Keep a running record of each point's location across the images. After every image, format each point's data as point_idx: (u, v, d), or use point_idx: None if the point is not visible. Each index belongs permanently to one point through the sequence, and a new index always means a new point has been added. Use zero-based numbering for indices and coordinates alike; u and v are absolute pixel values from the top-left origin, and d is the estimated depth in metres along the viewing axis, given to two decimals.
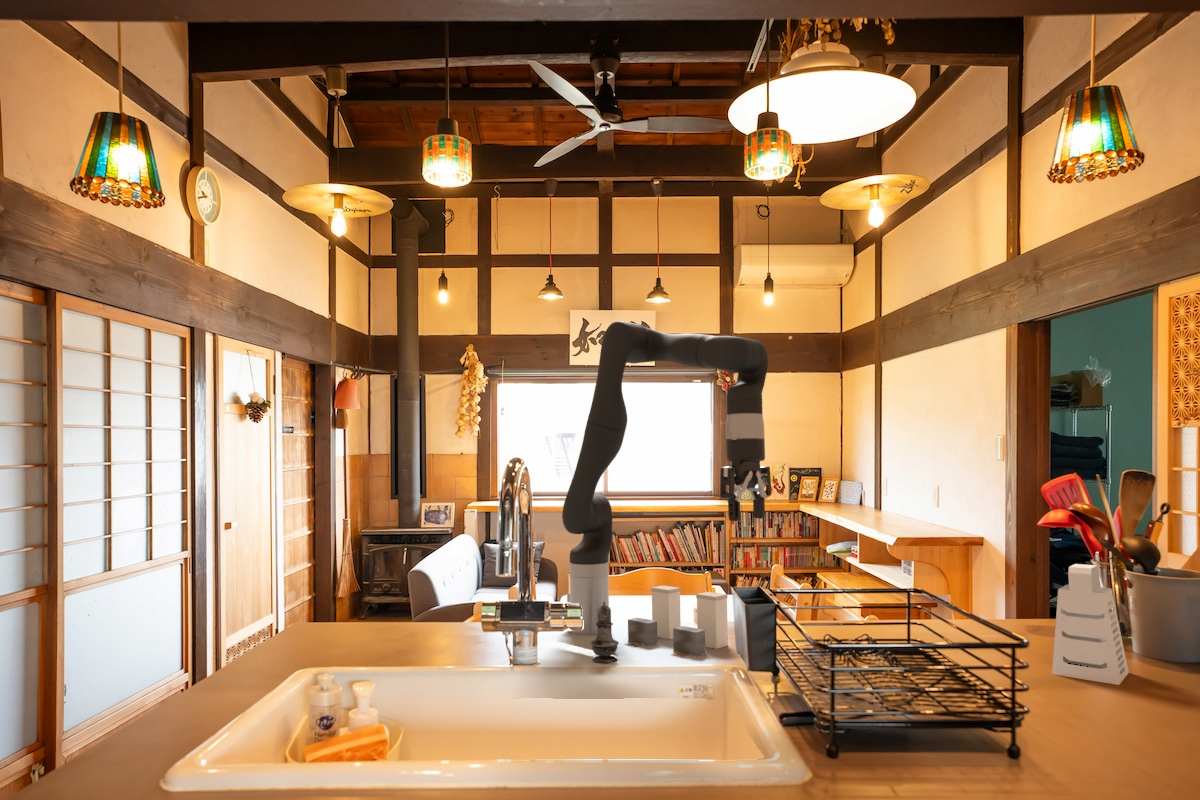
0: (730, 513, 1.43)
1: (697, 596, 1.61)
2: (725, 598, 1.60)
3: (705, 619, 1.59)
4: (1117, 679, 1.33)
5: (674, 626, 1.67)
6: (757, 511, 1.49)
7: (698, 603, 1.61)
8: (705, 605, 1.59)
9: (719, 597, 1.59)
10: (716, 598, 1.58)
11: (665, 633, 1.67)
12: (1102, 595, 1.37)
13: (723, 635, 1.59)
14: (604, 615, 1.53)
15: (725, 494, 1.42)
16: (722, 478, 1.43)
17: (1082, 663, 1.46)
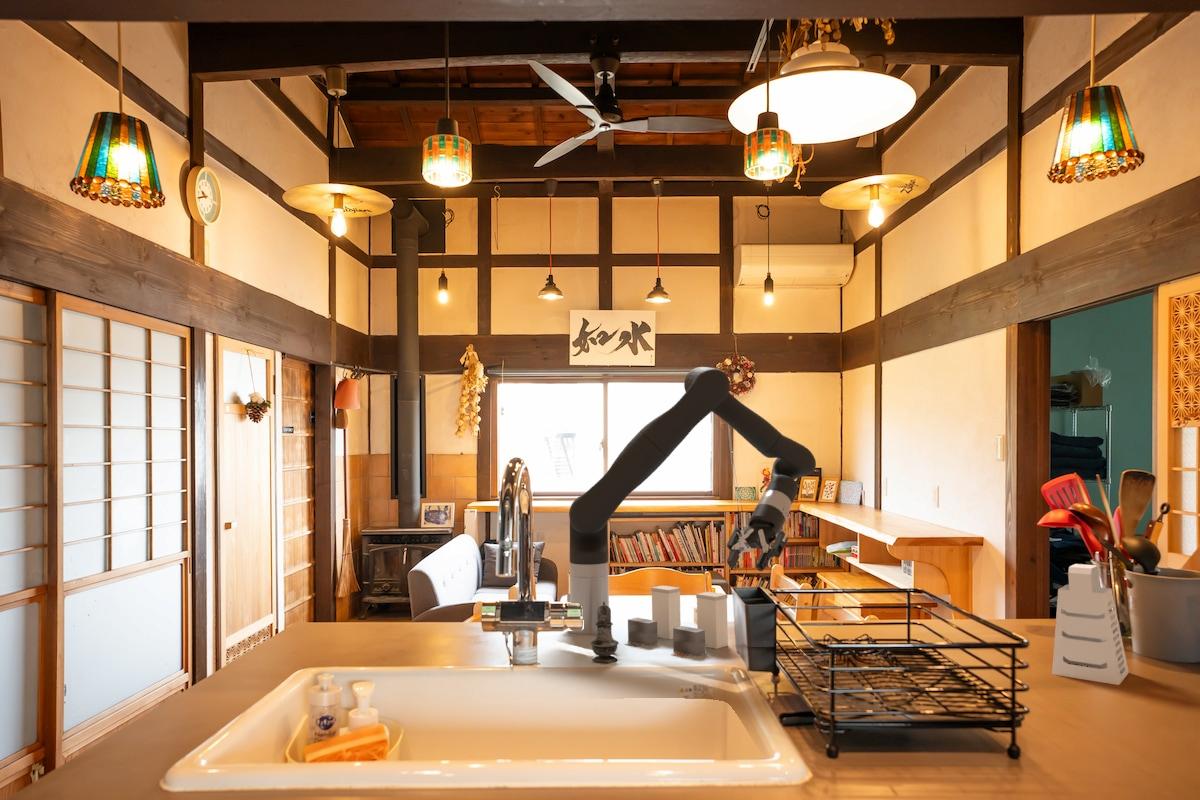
0: (764, 563, 1.67)
1: (697, 596, 1.61)
2: (725, 598, 1.60)
3: (705, 619, 1.59)
4: (1117, 679, 1.33)
5: (674, 626, 1.67)
6: (733, 560, 1.73)
7: (698, 603, 1.61)
8: (705, 605, 1.59)
9: (719, 597, 1.59)
10: (716, 598, 1.58)
11: (665, 633, 1.67)
12: (1102, 595, 1.37)
13: (723, 635, 1.59)
14: (604, 615, 1.53)
15: (777, 551, 1.68)
16: (781, 539, 1.69)
17: (1082, 663, 1.46)
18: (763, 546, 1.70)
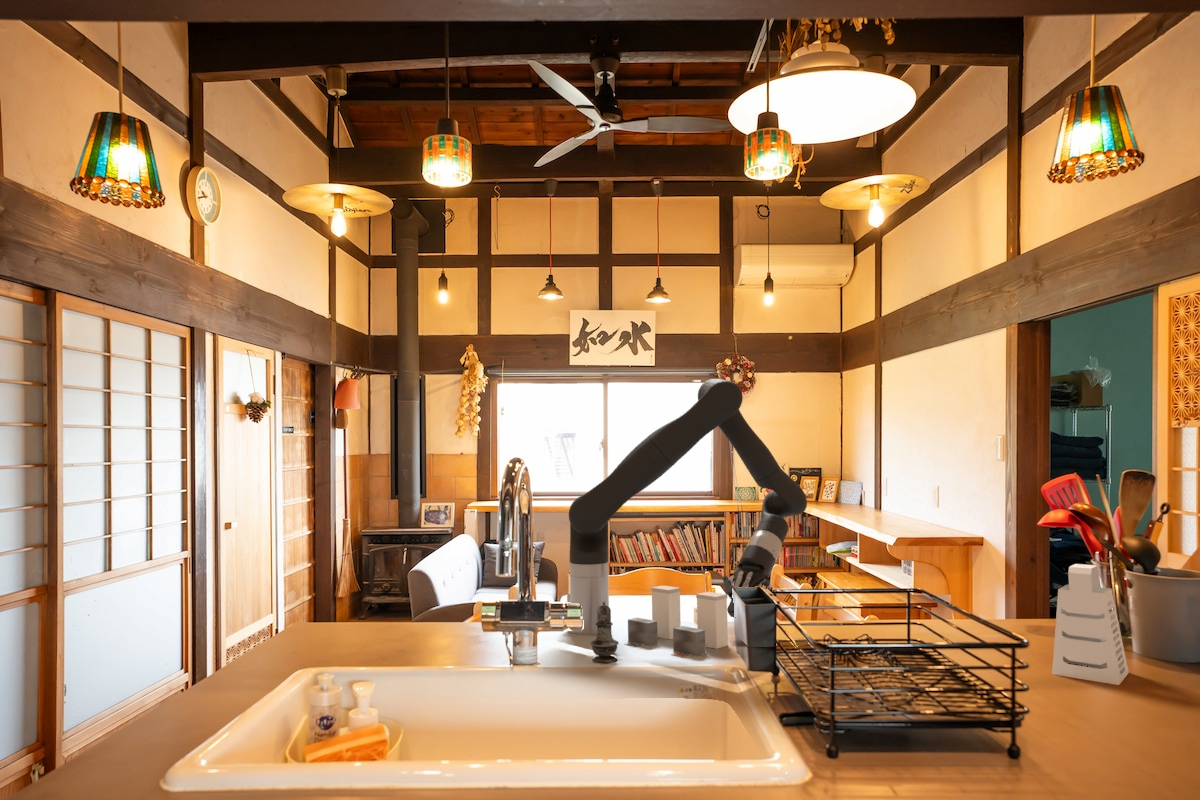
0: None
1: (697, 596, 1.61)
2: (725, 598, 1.60)
3: (705, 619, 1.59)
4: (1117, 679, 1.33)
5: (674, 626, 1.67)
6: None
7: (698, 603, 1.61)
8: (705, 605, 1.59)
9: (719, 597, 1.59)
10: (716, 598, 1.58)
11: (665, 633, 1.67)
12: (1102, 595, 1.37)
13: (723, 635, 1.59)
14: (604, 615, 1.53)
15: None
16: None
17: (1082, 663, 1.46)
18: None
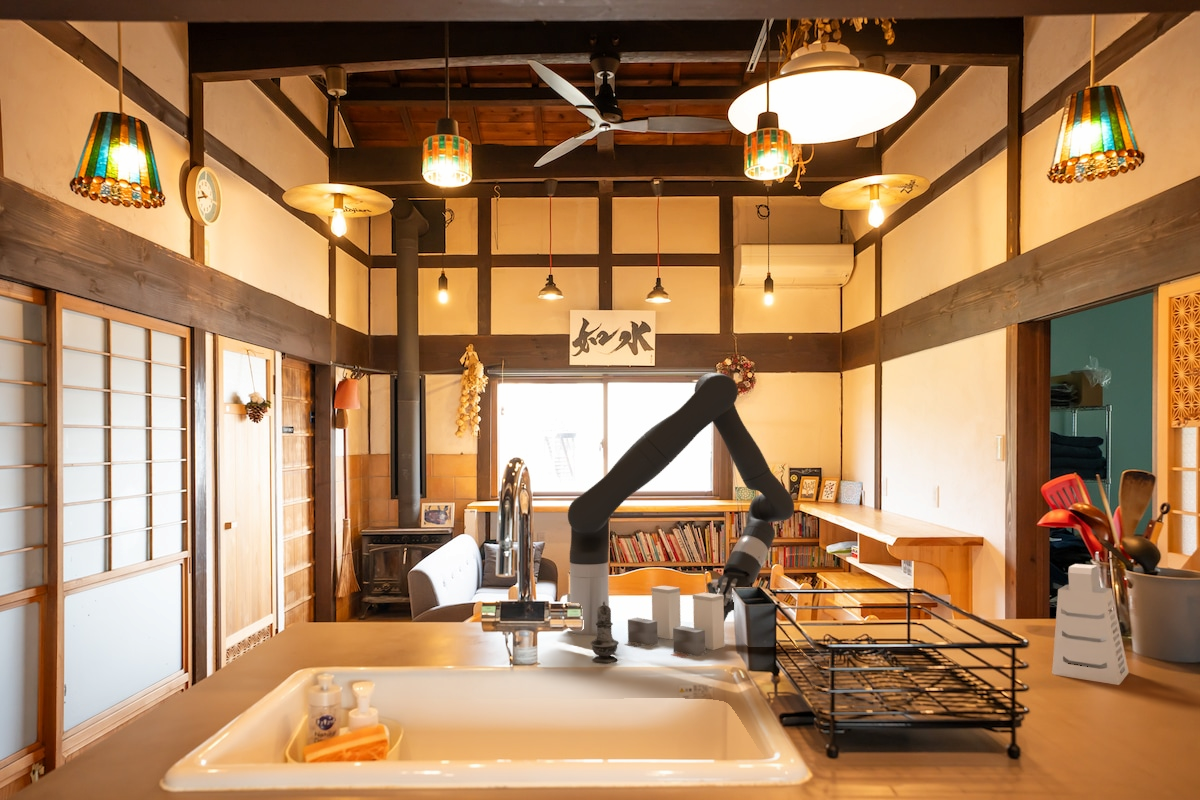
0: None
1: (693, 597, 1.60)
2: (722, 599, 1.59)
3: (701, 620, 1.58)
4: (1117, 679, 1.33)
5: (674, 626, 1.67)
6: None
7: (694, 604, 1.60)
8: (702, 606, 1.59)
9: (716, 598, 1.58)
10: (713, 599, 1.57)
11: (665, 633, 1.67)
12: (1102, 595, 1.37)
13: (719, 636, 1.58)
14: (604, 615, 1.53)
15: None
16: None
17: (1082, 663, 1.46)
18: (726, 598, 1.64)
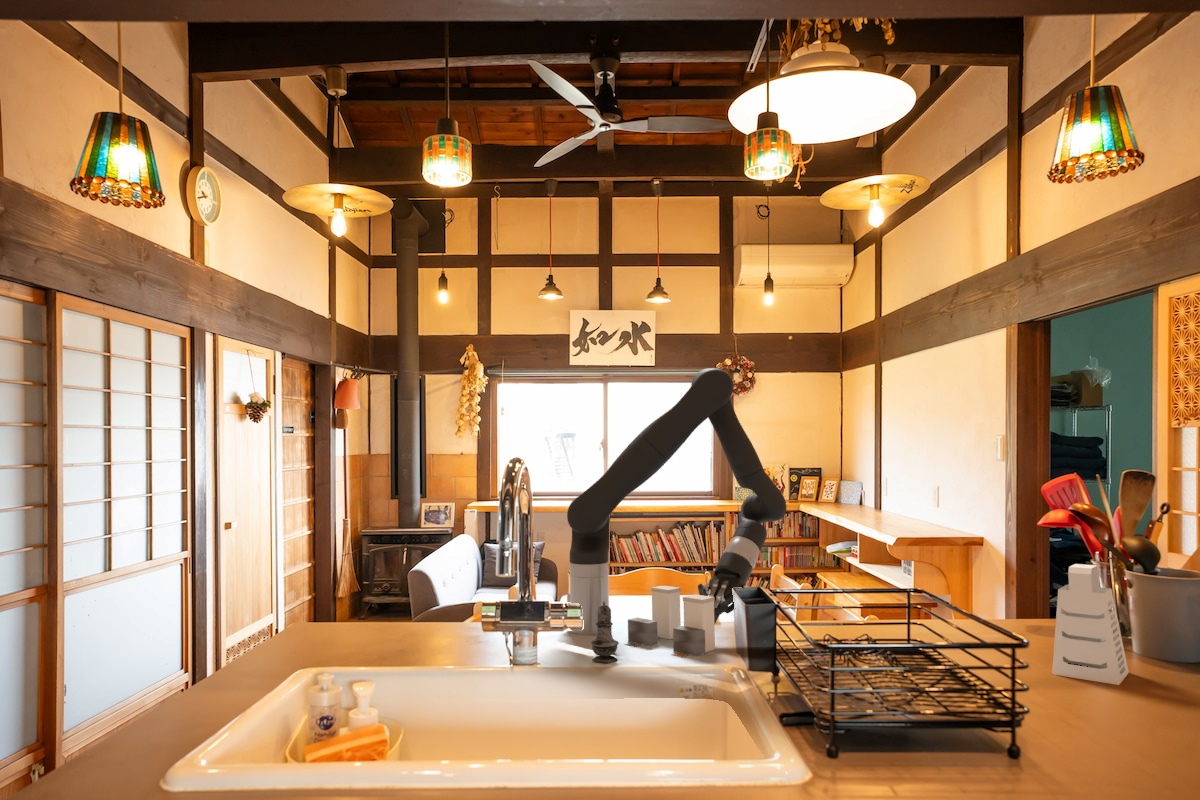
0: None
1: (684, 599, 1.58)
2: (712, 601, 1.57)
3: (691, 623, 1.56)
4: (1117, 679, 1.33)
5: (674, 626, 1.67)
6: None
7: (685, 606, 1.58)
8: (692, 608, 1.56)
9: (706, 600, 1.55)
10: (703, 601, 1.55)
11: (665, 633, 1.67)
12: (1102, 595, 1.37)
13: (710, 638, 1.55)
14: (604, 615, 1.53)
15: (727, 607, 1.60)
16: None
17: (1082, 663, 1.46)
18: (717, 600, 1.61)
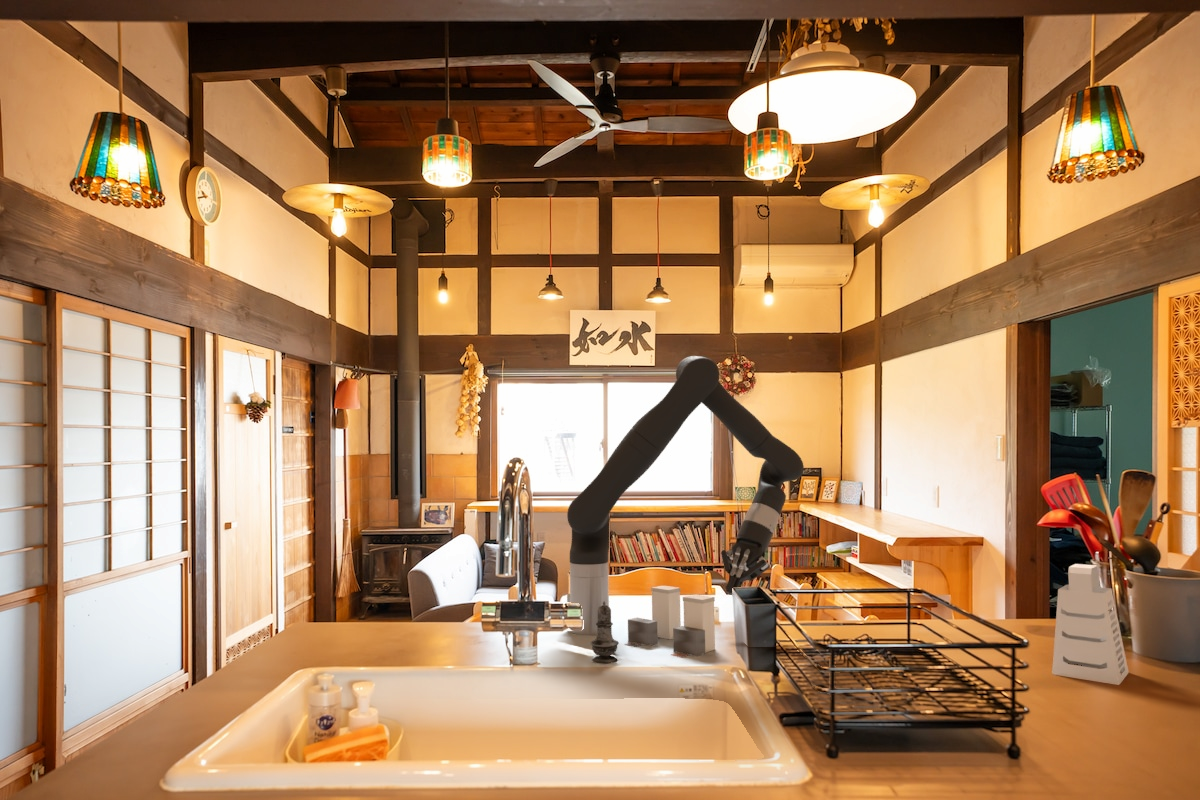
0: None
1: (684, 599, 1.58)
2: (712, 601, 1.57)
3: (691, 623, 1.56)
4: (1117, 679, 1.33)
5: (674, 626, 1.67)
6: None
7: (685, 606, 1.58)
8: (692, 608, 1.56)
9: (706, 600, 1.55)
10: (703, 601, 1.55)
11: (665, 633, 1.67)
12: (1102, 595, 1.37)
13: (710, 638, 1.55)
14: (604, 615, 1.53)
15: (750, 576, 1.69)
16: (758, 569, 1.68)
17: (1082, 663, 1.46)
18: (740, 569, 1.70)
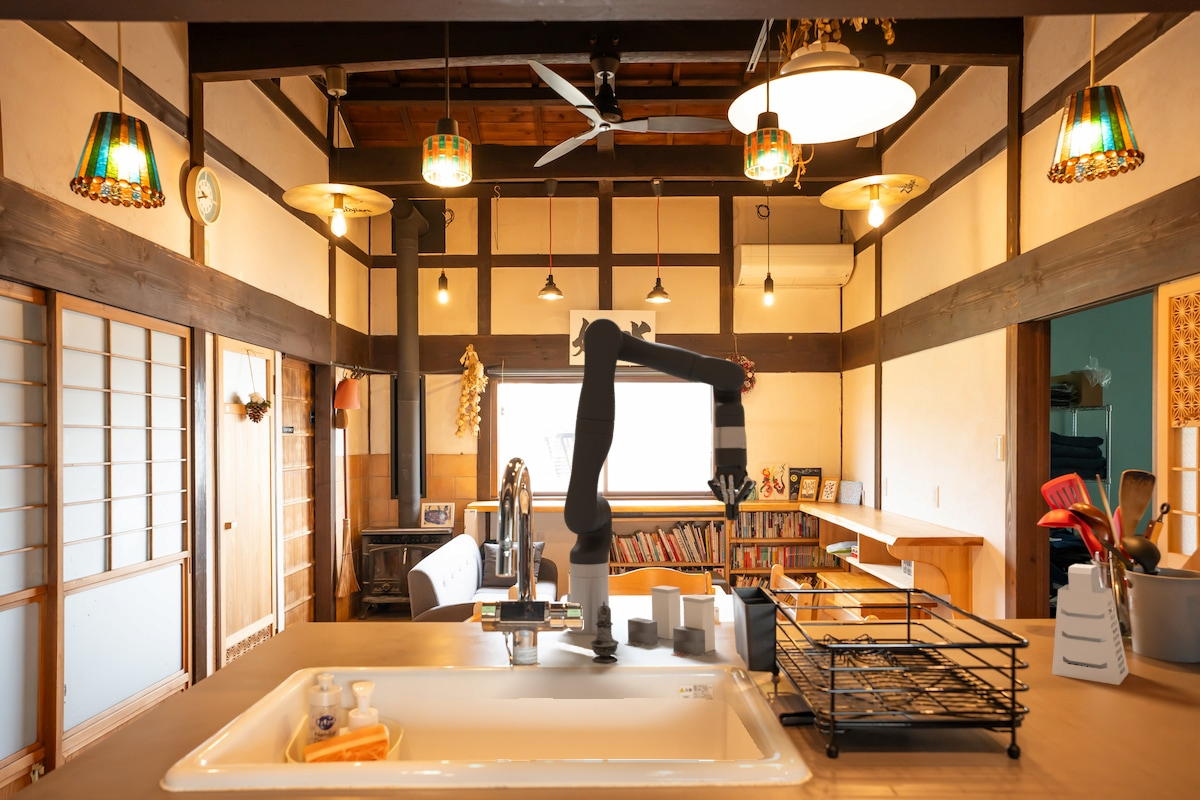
0: (736, 514, 1.74)
1: (684, 599, 1.58)
2: (712, 601, 1.57)
3: (691, 623, 1.56)
4: (1117, 679, 1.33)
5: (674, 626, 1.67)
6: None
7: (685, 606, 1.58)
8: (692, 608, 1.56)
9: (706, 600, 1.55)
10: (703, 601, 1.55)
11: (665, 633, 1.67)
12: (1102, 595, 1.37)
13: (710, 638, 1.55)
14: (604, 615, 1.53)
15: (743, 498, 1.73)
16: (747, 490, 1.71)
17: (1082, 663, 1.46)
18: (731, 495, 1.74)
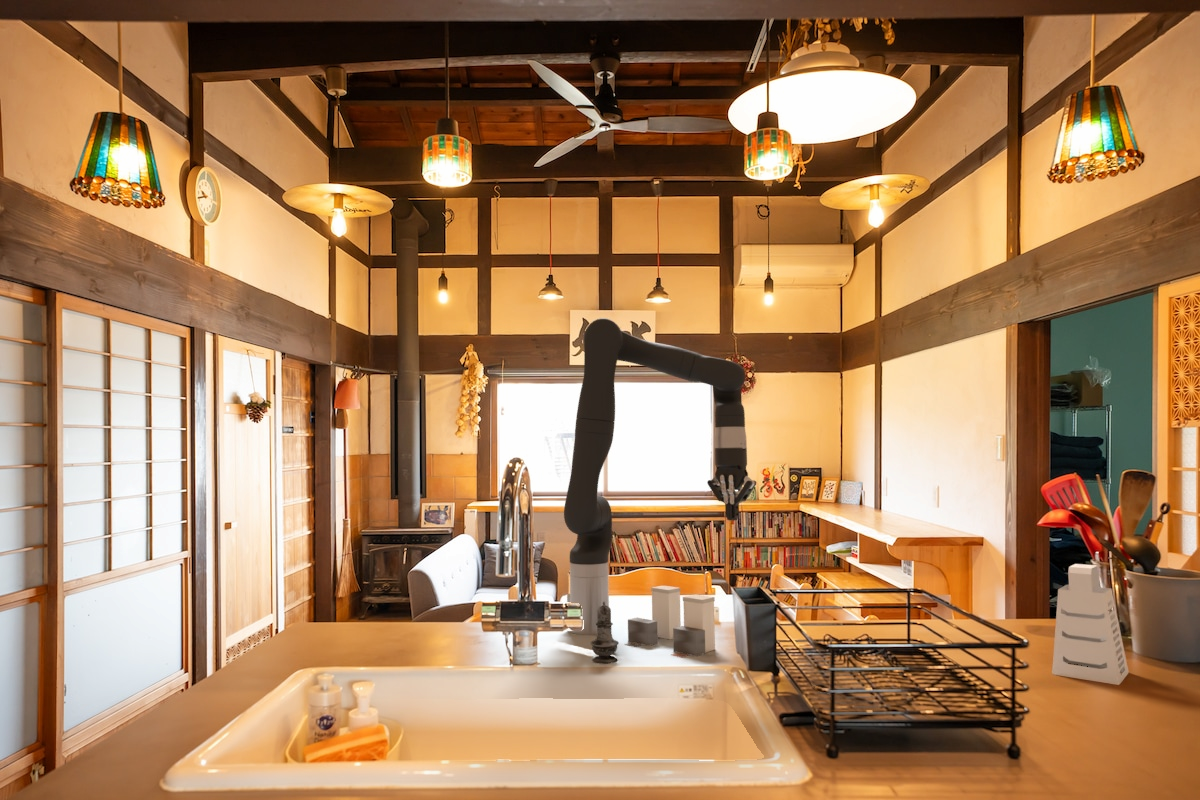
0: (736, 514, 1.74)
1: (684, 599, 1.58)
2: (712, 601, 1.57)
3: (691, 623, 1.56)
4: (1117, 679, 1.33)
5: (674, 626, 1.67)
6: None
7: (685, 606, 1.58)
8: (692, 608, 1.56)
9: (706, 600, 1.55)
10: (703, 601, 1.55)
11: (665, 633, 1.67)
12: (1102, 595, 1.37)
13: (710, 638, 1.55)
14: (604, 615, 1.53)
15: (743, 498, 1.73)
16: (747, 490, 1.71)
17: (1082, 663, 1.46)
18: (731, 495, 1.74)
